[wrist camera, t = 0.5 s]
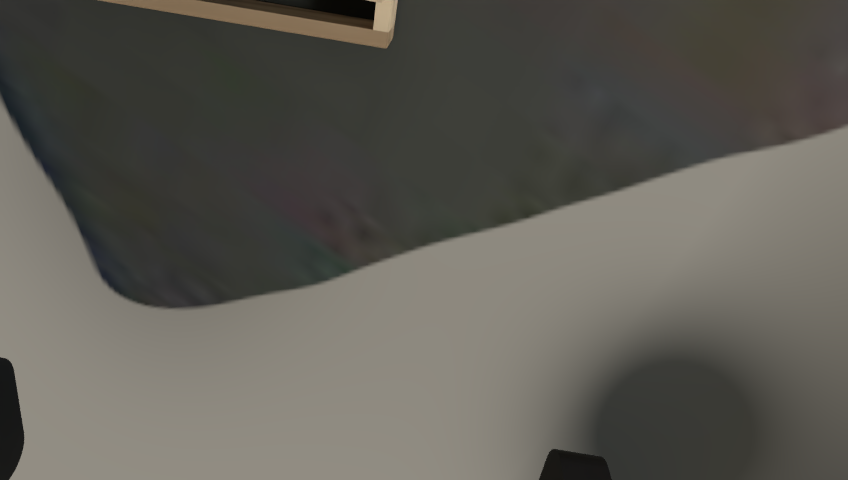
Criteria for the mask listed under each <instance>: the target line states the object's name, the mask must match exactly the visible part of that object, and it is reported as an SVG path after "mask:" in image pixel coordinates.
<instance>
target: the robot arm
mask: <svg viewBox="0 0 848 480" xmlns="http://www.w3.org/2000/svg"><path fill="white" fill-rule="evenodd" d="M23 445H24V430H23V424H22V418H21V412H20V405H19V399H18V393H17V387H16V380H15V374H14V369H13V366H12V364H11V362H10V361H9V360H7V359H5V358H1V357H0V480H9V479H10V477H11V476H12V474H13V472H14V471H15V469H16V467H17V465H18V462H19V460H20V457H21V454H22V450H23ZM539 480H612V479H611V476H610V472H609V469H608V465H607V463H606V461H605V459H604V458H603V457H601V456H595V455H588V454H582V453H576V452H570V451H564V450H558V449H553V450H551V451H550V452H549V454H548V456H547V459H546V461H545V464H544V467H543V470H542V473H541V476H540V478H539Z"/></svg>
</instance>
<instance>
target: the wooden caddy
mask: <svg viewBox="0 0 848 480" xmlns="http://www.w3.org/2000/svg"><path fill="white" fill-rule="evenodd" d="M100 1H106V2H112V3H118V4H124V5H130V6H136V7H142V8H148V9H154V10H160V11H166V12H172V13H178V14H183V15H189V16H195V17H201V18H207V19H213V20H219V21H225V22H231V23H237V24H243V25H249V26H255V27H261V28H267V29H273V30H279V31H285V32H291V33H297V34H303V35H309V36H315V37H321V38H327V39H333V40H339V41H345V42H351V43H357V44H363V45H369V46H375V47H381V48H387V47H388V45H389V44H390V42H391V40H392V39H393V33H394V25H395V17H396V9H397V2H398V0H367V1H373V2H376V8H375V17H374V20H369V19H363V18H357V17H351V16H345V15H339V14H333V13H327V12H321V11H315V10H310V9H304V8H298V7H292V6H286V5H280V4H274V3H268V2H262V1H256V0H100Z"/></svg>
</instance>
